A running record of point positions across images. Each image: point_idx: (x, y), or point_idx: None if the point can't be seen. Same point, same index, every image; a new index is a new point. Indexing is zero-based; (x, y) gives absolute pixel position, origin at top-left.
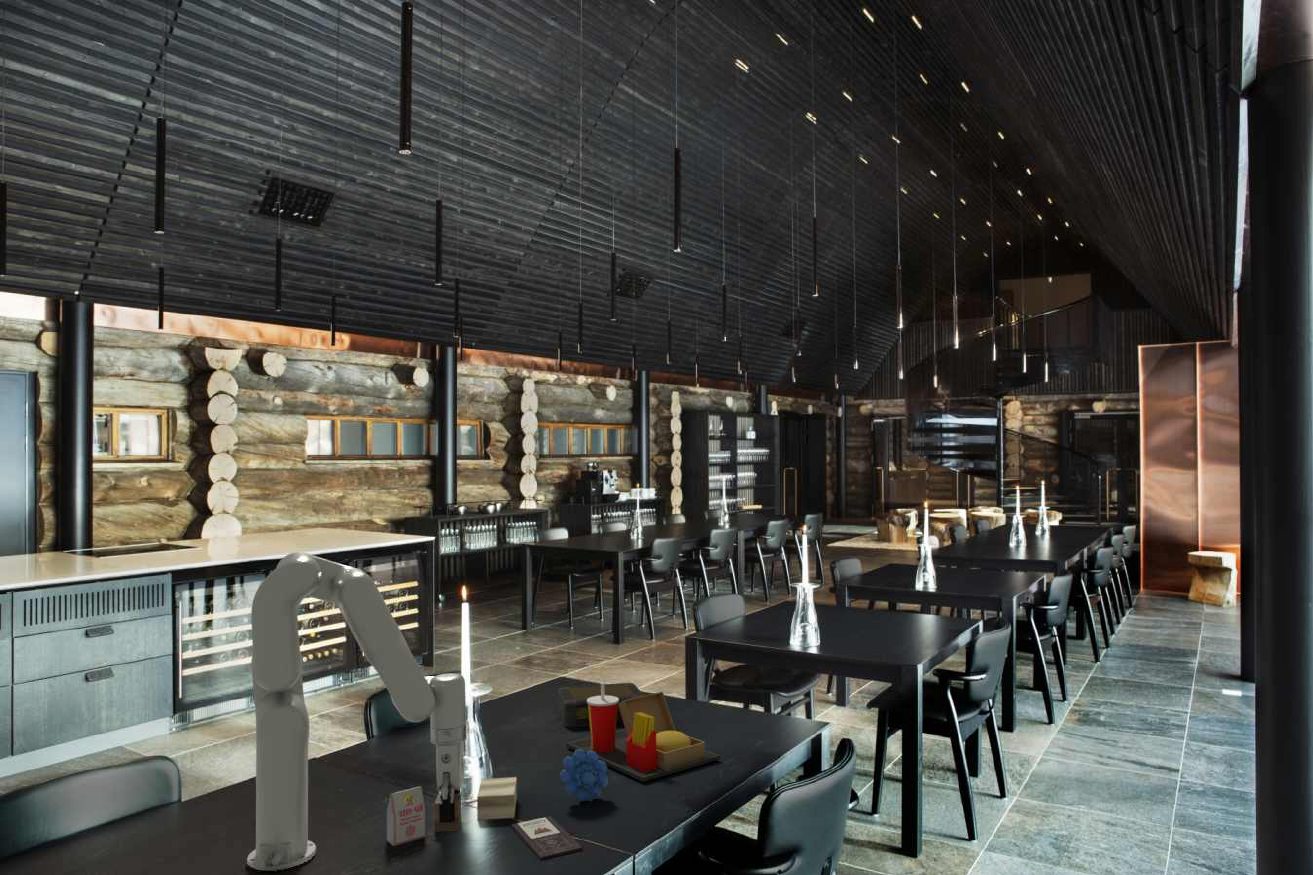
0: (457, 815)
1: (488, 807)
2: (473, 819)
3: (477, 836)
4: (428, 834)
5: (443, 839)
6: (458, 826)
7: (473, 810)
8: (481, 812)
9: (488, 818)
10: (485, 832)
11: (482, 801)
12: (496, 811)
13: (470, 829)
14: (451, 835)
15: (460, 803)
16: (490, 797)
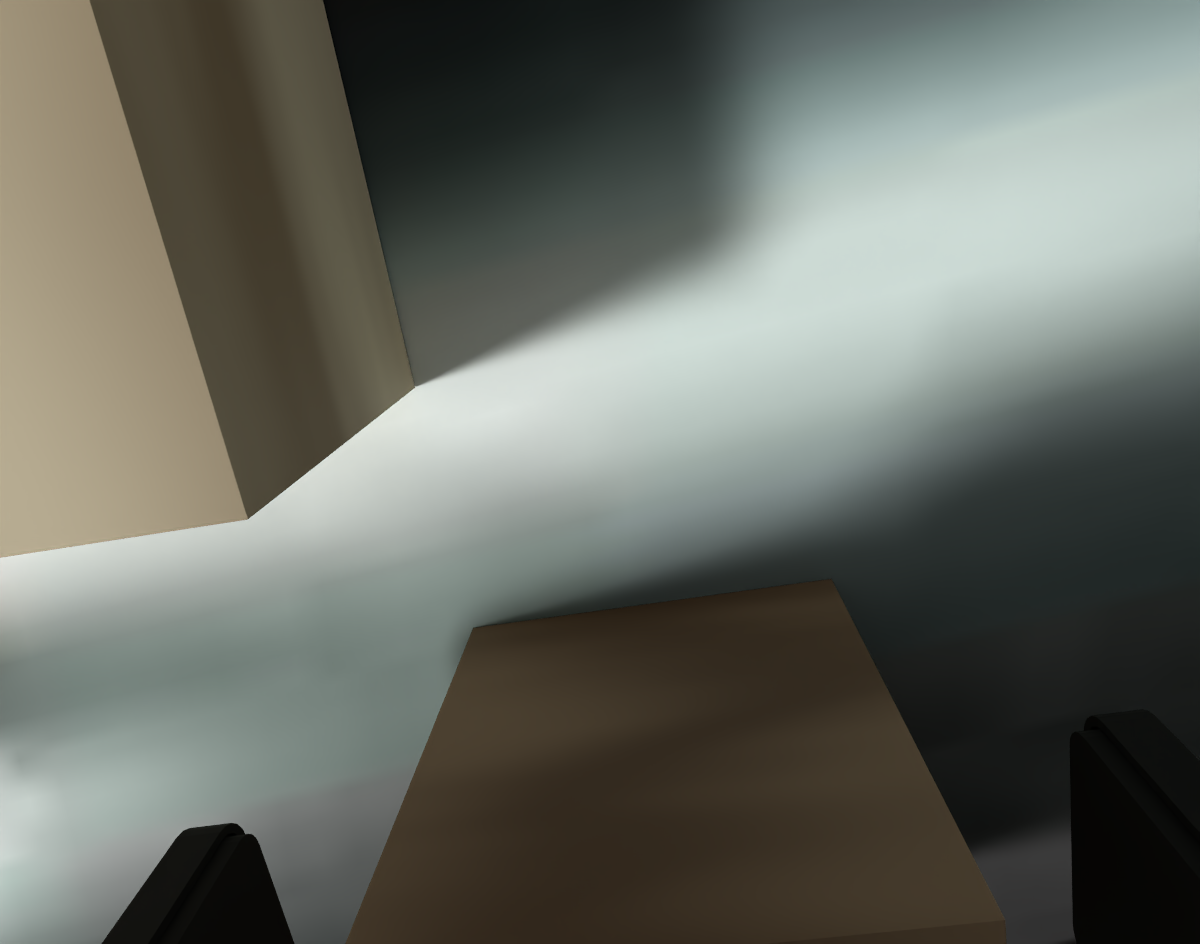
0: (899, 722)
1: (287, 192)
2: (403, 455)
3: (1111, 201)
4: None
5: (1151, 707)
6: (841, 605)
7: None
8: (359, 336)
9: (365, 196)
10: (949, 94)
11: (266, 349)
12: (283, 11)
13: (803, 401)
14: (1017, 633)
15: (520, 818)
16: (154, 119)
